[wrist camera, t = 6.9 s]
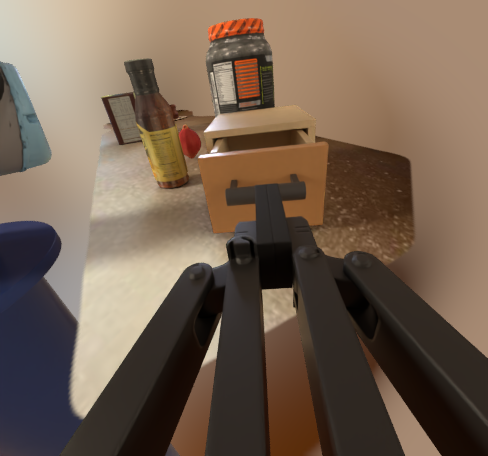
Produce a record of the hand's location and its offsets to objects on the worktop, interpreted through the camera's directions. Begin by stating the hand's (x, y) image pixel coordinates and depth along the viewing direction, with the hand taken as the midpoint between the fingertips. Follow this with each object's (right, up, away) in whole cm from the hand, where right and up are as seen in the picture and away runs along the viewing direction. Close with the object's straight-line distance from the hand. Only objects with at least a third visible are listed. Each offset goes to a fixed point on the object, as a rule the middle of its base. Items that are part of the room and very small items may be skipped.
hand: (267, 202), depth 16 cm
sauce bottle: (-15, +7, +30) cm, 35 cm away
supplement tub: (-1, +22, +51) cm, 56 cm away
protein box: (-44, +33, +78) cm, 95 cm away
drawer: (+1, +1, +16) cm, 16 cm away
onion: (-15, +16, +45) cm, 50 cm away
